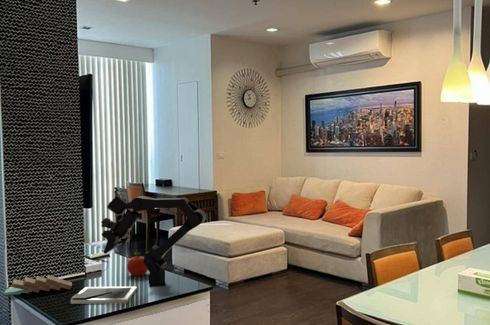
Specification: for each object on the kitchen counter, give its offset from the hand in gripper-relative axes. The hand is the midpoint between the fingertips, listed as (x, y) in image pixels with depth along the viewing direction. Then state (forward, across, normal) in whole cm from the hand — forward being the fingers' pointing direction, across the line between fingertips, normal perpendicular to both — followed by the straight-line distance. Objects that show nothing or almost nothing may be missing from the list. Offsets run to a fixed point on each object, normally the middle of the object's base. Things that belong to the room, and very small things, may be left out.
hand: (104, 253), depth 195 cm
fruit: (+3, -17, +14) cm, 22 cm away
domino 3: (+23, +5, -9) cm, 25 cm away
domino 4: (+20, +4, -6) cm, 21 cm away
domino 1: (+27, +7, -13) cm, 31 cm away
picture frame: (+10, +12, +14) cm, 21 cm away
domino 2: (+25, +7, -11) cm, 28 cm away
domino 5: (+18, +3, -2) cm, 18 cm away
